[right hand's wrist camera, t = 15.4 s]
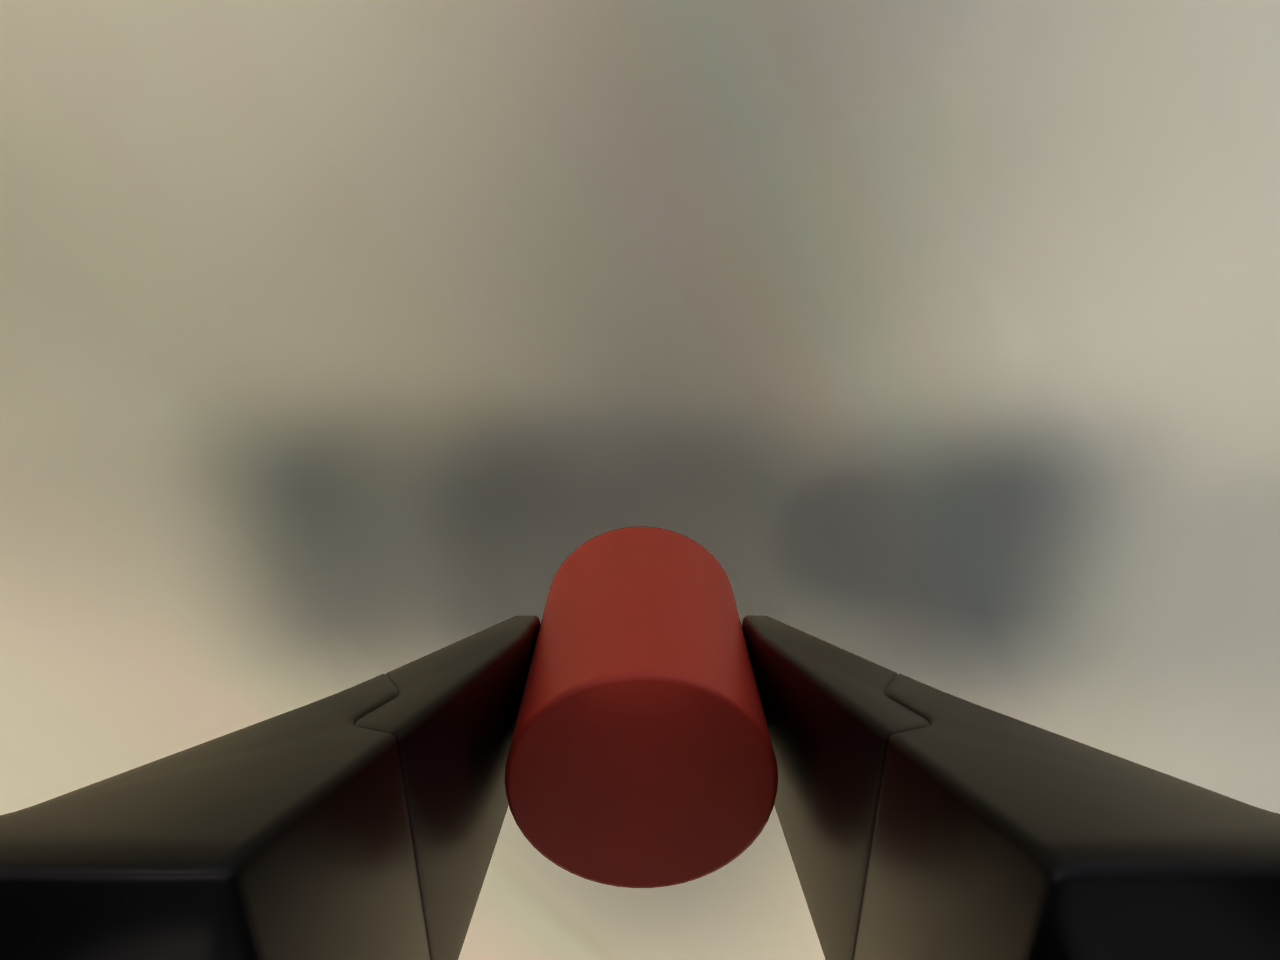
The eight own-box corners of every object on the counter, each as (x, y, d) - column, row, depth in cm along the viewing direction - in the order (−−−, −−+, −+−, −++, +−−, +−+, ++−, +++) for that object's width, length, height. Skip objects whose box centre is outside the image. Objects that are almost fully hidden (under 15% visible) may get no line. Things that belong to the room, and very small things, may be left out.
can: (771, 586, 12) (837, 758, 8) (666, 715, 13) (678, 926, 9) (611, 489, 12) (596, 625, 8) (513, 633, 13) (454, 822, 9)
